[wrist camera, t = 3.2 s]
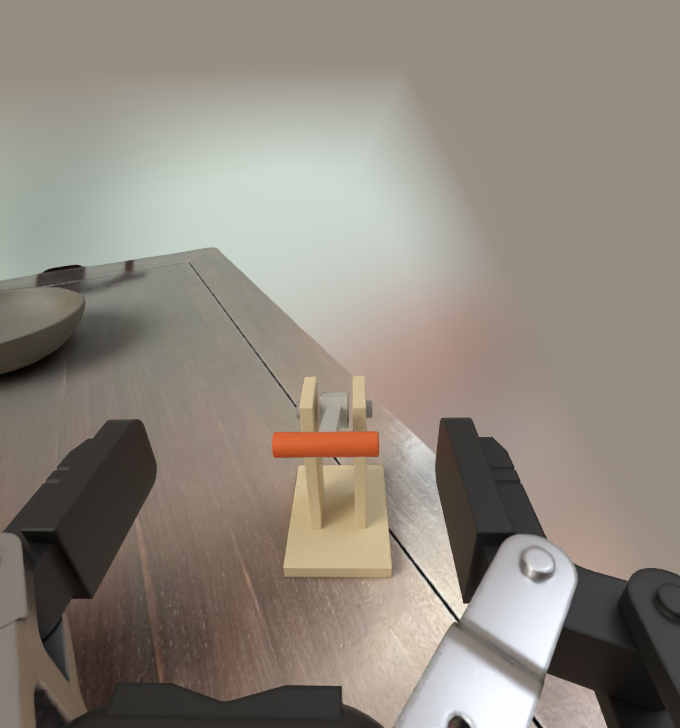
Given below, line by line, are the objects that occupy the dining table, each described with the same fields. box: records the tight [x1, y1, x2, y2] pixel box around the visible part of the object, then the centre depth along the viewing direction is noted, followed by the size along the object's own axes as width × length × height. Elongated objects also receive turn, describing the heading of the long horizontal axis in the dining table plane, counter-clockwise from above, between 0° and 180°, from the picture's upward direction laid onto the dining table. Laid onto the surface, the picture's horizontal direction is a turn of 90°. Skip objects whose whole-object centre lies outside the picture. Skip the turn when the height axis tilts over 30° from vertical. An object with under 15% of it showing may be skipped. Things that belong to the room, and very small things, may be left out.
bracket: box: [283, 376, 392, 577], centre depth 37 cm, size 12×9×15 cm
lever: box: [272, 392, 379, 458], centre depth 30 cm, size 12×6×2 cm, turn 178°
